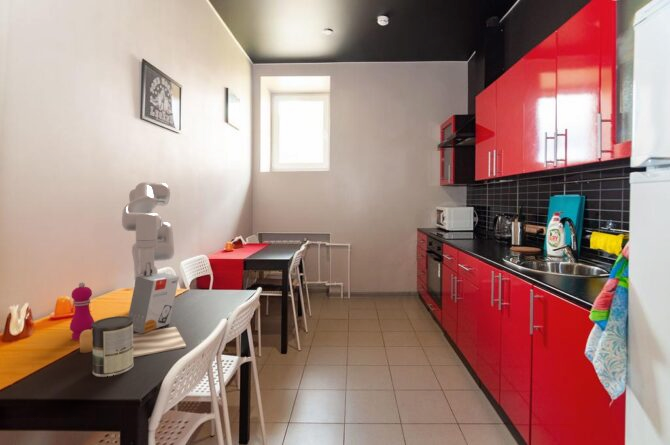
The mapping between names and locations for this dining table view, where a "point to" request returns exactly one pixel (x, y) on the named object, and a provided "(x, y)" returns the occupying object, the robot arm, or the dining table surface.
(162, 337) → the board
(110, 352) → the coffee can
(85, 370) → the dining table surface
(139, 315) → the hard drive box
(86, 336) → the salt shaker
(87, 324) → the pepper mill
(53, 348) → the dining table surface
